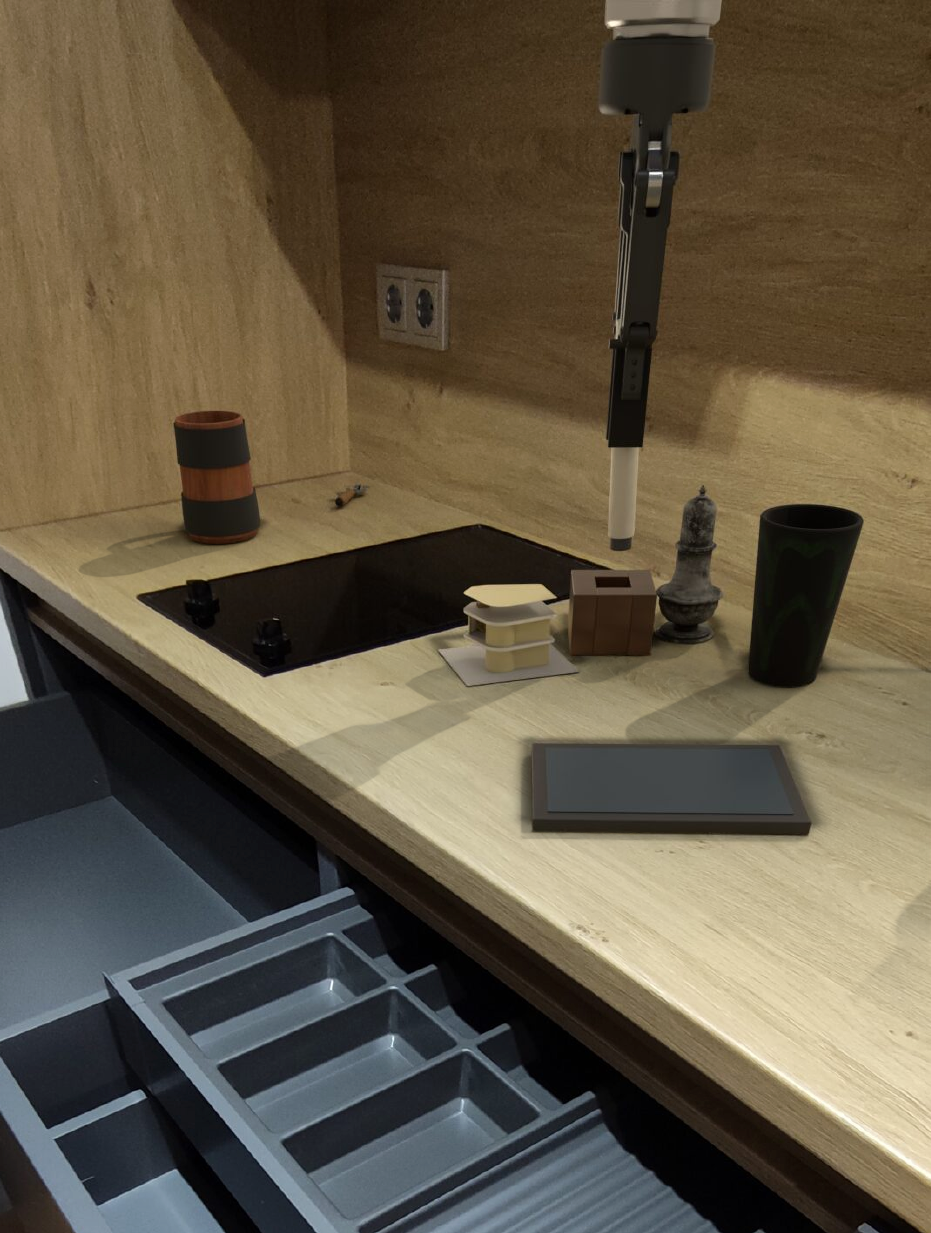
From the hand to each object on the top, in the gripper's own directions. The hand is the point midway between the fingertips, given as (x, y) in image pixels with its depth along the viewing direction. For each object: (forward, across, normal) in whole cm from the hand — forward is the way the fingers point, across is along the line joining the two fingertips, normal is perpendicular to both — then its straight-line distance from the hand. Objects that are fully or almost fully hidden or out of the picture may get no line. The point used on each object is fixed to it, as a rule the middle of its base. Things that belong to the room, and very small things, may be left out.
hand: (623, 441), depth 89 cm
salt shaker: (+16, -2, +7) cm, 17 cm away
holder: (+16, 0, 0) cm, 16 cm away
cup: (+16, +8, +14) cm, 23 cm away
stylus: (+8, 0, 0) cm, 8 cm away
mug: (+16, -36, -43) cm, 58 cm away
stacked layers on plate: (+16, +5, -9) cm, 19 cm away
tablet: (+15, +30, +2) cm, 34 cm away
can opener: (+16, -50, -29) cm, 60 cm away
